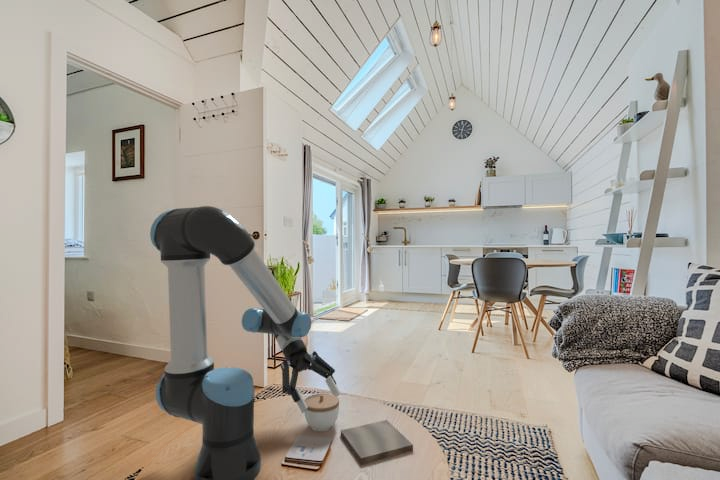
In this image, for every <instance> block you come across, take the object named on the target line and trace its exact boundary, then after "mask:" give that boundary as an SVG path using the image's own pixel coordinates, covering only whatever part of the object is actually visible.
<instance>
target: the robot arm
mask: <svg viewBox="0 0 720 480" xmlns="http://www.w3.org/2000/svg"><path fill="white" fill-rule="evenodd" d="M149 236H150V237H149V238H150V241H151V244H152V245H153V246H154V247H155V248H156V250H158V251H159V252H160V262H161V263H162V264H163V265H165V267H166V268H167V281H168V282H167V284H168V286H167V287H168V306H169V307H168V312H169V313H168V315H169V338H170V342H169V345H170V361H169V362H168V363H167V364H166V365H165V367H164V373H163V374H162V375H161V377H160V380H159V381H158V382H157V385H156V388H155V400H156V402H157V405H158V406H159V408H160V409H161V410H162V411H163V412H165V413H167V414H168V415H170V416H173V417H174V418H180V419H184V420H187V421H190V422H195V423H196V424H197V423H198V424H200V425H202V440H201V441H202V443H201V447H200V450H199V453H198V456H197V459H196V462H195V465H194V469H193V480H254V478H256V477H257V475H258V474H259V472H260V471H261V469H262V468H261V466H262V457H261V452H260V450H259V446H258V443H257V440H256V437H255V435H254V434H255V433H254V431H255V429H254V428H255V427H254V425H255V424H254V423H255V422H254V420H255V418H254V417H255V387H254V378H253V375H251V373H249V371H247V370H245V369H242V368H240V367H219V368H215V362H214V361H215V360H214V358H212V357H211V356H210V355H209V354H208V334H207V333H208V332H207V307H206V305H207V304H206V300H207V299H206V279H205V278H206V275H205V274H206V273H205V271H206V269H205V266H206V264H207V263H208V262H209V261H211V255H212V256H213V257H216V258H217V259H218V260H219V261H220V263H221V264H222V265H224V266H229V267H230V268H231V270H232V271H233V272H234V273H235V275H236V276H237V277H238V279H239V280H240V281H241V282H242V284H243V285H244V286H245V287H246V288H247V290H248V291H249V292H250V294H251V295H252V296H253V297H254V298H255V300H256V301H257V303H258V304H259V305H260V306H261V307H262V308H260V307H250V308H248V309H247V310H245V311H244V313H243V314H242V317H241V326H242V328H243V330H245V331H246V332H249V333H253V334H255V333H260V334H270V335H273V336H274V338H275V340H276V342H277V344H278V347H279V349H280V350H281V351H282V355H283V356H284V358H285V359H283V361H282V362H281V363H280V369H281V375H282V378H281V379H282V381H281V383H282V385H281V386H282V393H283V394H287V395H289V396H291V398H292V401H293V402H294V403H297V406H298V408H299V410H300V412H301V414H305V411H306V410H307V409H308V406H307V404H306V402H305V398H304V396H303V395H302V392H301V391H300V389H299V388H298V387H297V381H298V377H299V373H301V372H302V371H307V370H309V371H313V372H314V373H315V374H316V373H317V375H319V376H321V377H323V378H324V379H325V383H326V385H327V388H328V389H329V390H330V393H332V394H331V395H334V396H336V397H338V398H339V395H340V394H341V390H339V387H338V386H337V382H336V380H335V378H334V376H333V374H335V372H336V370H335V368H333V367H332V366H331V365H330V364H328V362H326V361H325V360H324V359H323V358H322V357H321V356H319V354H318V353H317V351H313V352H312V353H308V351H307V349H308V348H307V346H306V344H305V343H304V341H303V340H302V338H304V337H307V336H308V334H309V333H310V331H311V329H312V328H311V327H312V318H311V316H310V314H309V313H308V312H304V311H299V310H297V307H296V306H295V305H294V303H293V302H292V300H291V298H289V296H288V294H287V293H286V292H285V291H284V289H283V288H282V286H281V285H280V283H279V281H278V280H277V279H276V277H275V276H274V275H273V273H272V272H271V270H270V269H269V268H268V266H267V265H266V263H265V262H264V260H263V259H262V258H261V256H260V254H259V253H258V252H257V250H256V249H255V247H256V242H255V241H254V239H253V238H252V237H251V235H250V233H249V232H248V231H247V229H246V228H244V226H243V225H242V224H241V223H240V222H239V221H238V220H237V219H236V218H234V216H232V215H231V214H229V213H228V212H227V211H225V210H222V209H221V208H218V207H214V206H211V205H203V206H202V205H201V206H197V207H195V206H194V207H182V208H174V209H172V210H167V211H164V212H162V213H160V215H158V216H157V217H156V218H155V219H154V220H153V223H152V224H151V227H150V232H149ZM290 367H291V368H292V369H291V370H292V371H291V377H290Z"/></svg>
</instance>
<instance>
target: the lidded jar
mask: <svg viewBox="0 0 720 480" xmlns="http://www.w3.org/2000/svg"><path fill="white" fill-rule="evenodd" d="M304 400H305V402H306V404H307V406H308V409H307V410H306V411H305V412H304V418H305V421H306V423H307V424H308V425H309V427H310V428H311V429H312V430H314V431H315V432H326V431H330V429H332V426H334V424H335V423H336V421H337V420H338V417H339V411H340V410H339V408H340V406H339V405H340V398H339V396H338V397H336V396H334V395H333V394H331V393H315V394H312V395H309V396H308V397H306V398H304Z"/></svg>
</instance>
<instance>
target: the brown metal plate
mask: <svg viewBox="0 0 720 480" xmlns="http://www.w3.org/2000/svg"><path fill="white" fill-rule="evenodd" d="M340 437H341V438H342V439H343V441H344V442H345V444H346V445H347V446H348V448H349V449H350V451H351V452H352V454H353V455H354V456H355V458H356V459H357V461H358V462H359V464H360V465H365V464H368V463H372V462H376V461H379V460H383V459H386V458H389V457H394V456H397V455H401V454H405V453H408V452H412V451H414V444H413V443H412V442H411V441H410V440H409V439H408V438H407V437H406V436H404V435H403V433H401V432H400V431H399V430H398V429H397V428H396V427H395V426H394V425H393V424H392V423H391V422H390V421H389V420H387V419H385V420H380V421H376V422H372V423H368V424H367V423H366V424H364V425H363V424H362V425H357V426H354V427H350V428H345V429H341V430H340Z"/></svg>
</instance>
